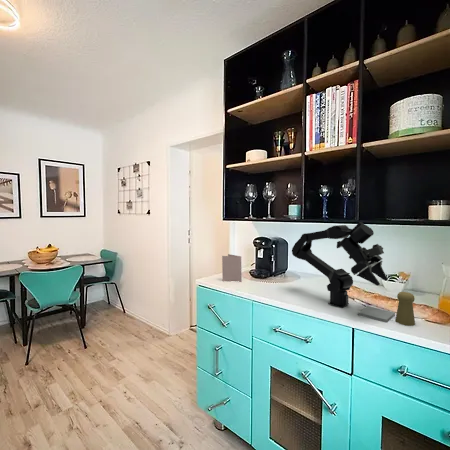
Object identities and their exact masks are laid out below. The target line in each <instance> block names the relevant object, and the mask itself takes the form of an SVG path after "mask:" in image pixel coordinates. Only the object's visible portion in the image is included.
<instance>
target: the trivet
mask: <svg viewBox="0 0 450 450" xmlns="http://www.w3.org/2000/svg"><path fill="white" fill-rule="evenodd" d="M357 315H358V316H360V317H363V318H364V317H365V318H368V319H372V320H376V321H380V322H383V323H388V322H389V321H390V320H391V319H393V317H395V316H396V312H395V311H391V310H386V309H381V308H378V307H374V306H369V305H367V306H366V307H364V308H362V309H361V310H360V311H358V314H357Z"/></svg>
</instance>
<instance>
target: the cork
mask: <svg viewBox="0 0 450 450" xmlns="http://www.w3.org/2000/svg"><path fill="white" fill-rule="evenodd" d="M396 297H397V300H398V304H397V308H396V309H397V310H396V313H395V318H394V320H395V322H396V323H397V324H399V325H402V326H406V327H407V326H408V327H413V326H416V319H415V312H414V311H415V310H414V305H413V304H414V302H415V296H414V294H413V293H412V292H408V291H399V292H398V293H397V296H396Z"/></svg>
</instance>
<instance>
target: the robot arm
mask: <svg viewBox="0 0 450 450" xmlns="http://www.w3.org/2000/svg"><path fill="white" fill-rule="evenodd" d="M372 236H374V230H373V229H372V228H371V227H369V226H368V225H366V223H365V224H364V223H363V222H362V221H361V222H358V223H357V224H356V225H355V226H354V227H353V228H349V226H348V225H347V224H342V225H341V224H339V225H332V226H331V227H328V228H327V229H324V230H320V231H315V232H314V231H313V232H306V233H302V234H301V235H300V238H299V239H298V240H297V241H295V243H294V245H293V246H292V248H291V253H292V256H293V257H295V258H296V259H299V260H302V261H305V262H307V263H308V264H309V265H311V266H312V267H314V268H315V269H316V270H317V271H319V272H320V274H321V273H322V274H323V275H324V276H325V277H327V279H328V281H329V284H327V285H326V289H327V291H328V292H329V302H327V303H328V305H330V306H335V307H339V308H341V309H342V308H346V306H348V305H349V294H348V291H350V289H351V287H352V286H353V285H354V280H353V276H356V277H359V278H362V279H364V280H366V281H368V283H369V282H370V283H372V284H373V285H375V286H380V281H379V280H378V278H380V279H382V280H383V281H388V277H387V275H386V272H385V271H384V269H383V267H382V265H383V258H382V257H381V255H383V254H385V252H384V247H382V245H380V244H379V243H376V244H373V245H372V247H371V248H368V249H367V248H366V247H365V246H363V247H362V246H361V245H362V244H364V243H365V242H366V241H367V240H369V239H370V238H371V237H372ZM324 239H330V240H338V239H342V240H338V241H337V242H336V249H340V248H342V249H343V250H344V251H345V252H346V253H347V254H348V259H349V260H353V262H354V263H355V265H353V266H351V268H350V272H351V273H352V274H353V276H352V275H351V273H350V272H347V271H346V270H345V269H343V268H338V269H335V268H334V267H332V266H331V265H329V264H328V263H326V262H325V261H324V260H322V259H321V258H320V257H318V256H316V255H315V254H314V253H313V252H312V251H313V250H312V249H311V248H312V245H313V244H312V243H313V241H317V240H324ZM376 276H377V277H378V278H377V277H376Z"/></svg>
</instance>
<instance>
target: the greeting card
mask: <svg viewBox="0 0 450 450" xmlns="http://www.w3.org/2000/svg"><path fill="white" fill-rule="evenodd" d="M221 256H222V257H221V260H222V261H221V265H222V266H221V267H222V271H221V272H222V276H221V277H222V282H231V281H239V282H238V283H242V277H243V276H242V256H240V255H235V254H230V253H228V254H227V255H221Z"/></svg>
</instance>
